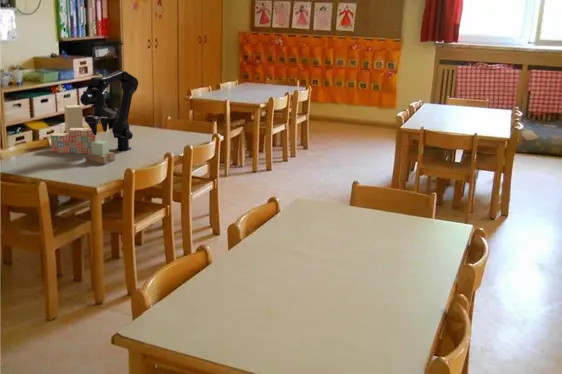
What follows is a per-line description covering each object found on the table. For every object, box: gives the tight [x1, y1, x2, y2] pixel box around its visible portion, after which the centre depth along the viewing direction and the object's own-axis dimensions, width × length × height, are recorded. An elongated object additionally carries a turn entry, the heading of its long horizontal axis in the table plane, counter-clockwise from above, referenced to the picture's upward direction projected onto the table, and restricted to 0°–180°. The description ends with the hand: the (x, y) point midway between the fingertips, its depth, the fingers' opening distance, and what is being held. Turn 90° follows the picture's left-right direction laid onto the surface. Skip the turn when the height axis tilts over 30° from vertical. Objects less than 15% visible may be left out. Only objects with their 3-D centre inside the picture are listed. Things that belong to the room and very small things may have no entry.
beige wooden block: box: [63, 104, 84, 133], centre depth 328 cm, size 8×7×21 cm
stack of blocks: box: [50, 127, 96, 154], centre depth 314 cm, size 21×6×12 cm, turn 97°
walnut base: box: [85, 151, 116, 166], centre depth 300 cm, size 10×10×4 cm
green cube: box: [91, 139, 110, 156], centre depth 298 cm, size 6×6×6 cm
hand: (100, 133), depth 306 cm, fingers open, 9 cm apart
